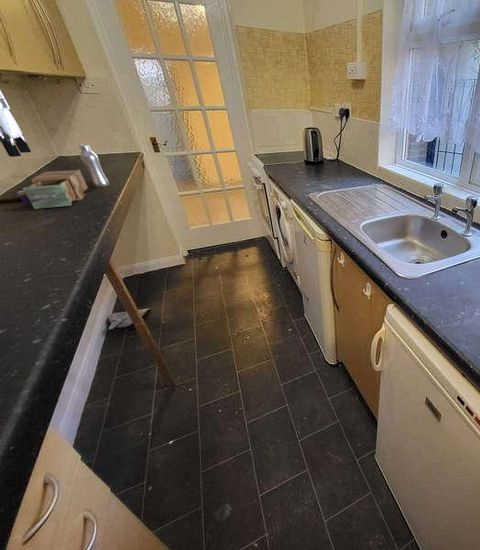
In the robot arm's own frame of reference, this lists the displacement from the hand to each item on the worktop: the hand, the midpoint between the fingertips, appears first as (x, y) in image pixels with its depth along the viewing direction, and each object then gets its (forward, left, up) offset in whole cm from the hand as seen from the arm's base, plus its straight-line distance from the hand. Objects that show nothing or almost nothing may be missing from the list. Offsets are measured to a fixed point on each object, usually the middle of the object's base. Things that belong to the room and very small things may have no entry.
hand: (20, 154), depth 117 cm
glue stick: (-6, 0, -20) cm, 21 cm away
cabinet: (+5, +7, -20) cm, 22 cm away
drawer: (+5, -7, -19) cm, 21 cm away
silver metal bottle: (+16, +18, -20) cm, 31 cm away
